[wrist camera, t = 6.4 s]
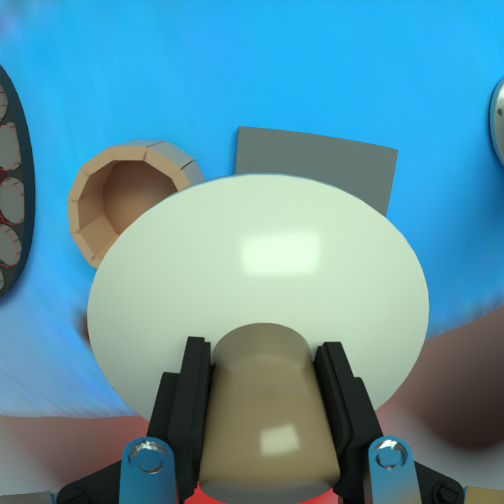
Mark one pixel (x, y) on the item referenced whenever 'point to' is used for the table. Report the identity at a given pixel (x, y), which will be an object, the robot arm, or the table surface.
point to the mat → (320, 161)
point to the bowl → (123, 191)
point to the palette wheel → (14, 186)
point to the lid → (259, 320)
